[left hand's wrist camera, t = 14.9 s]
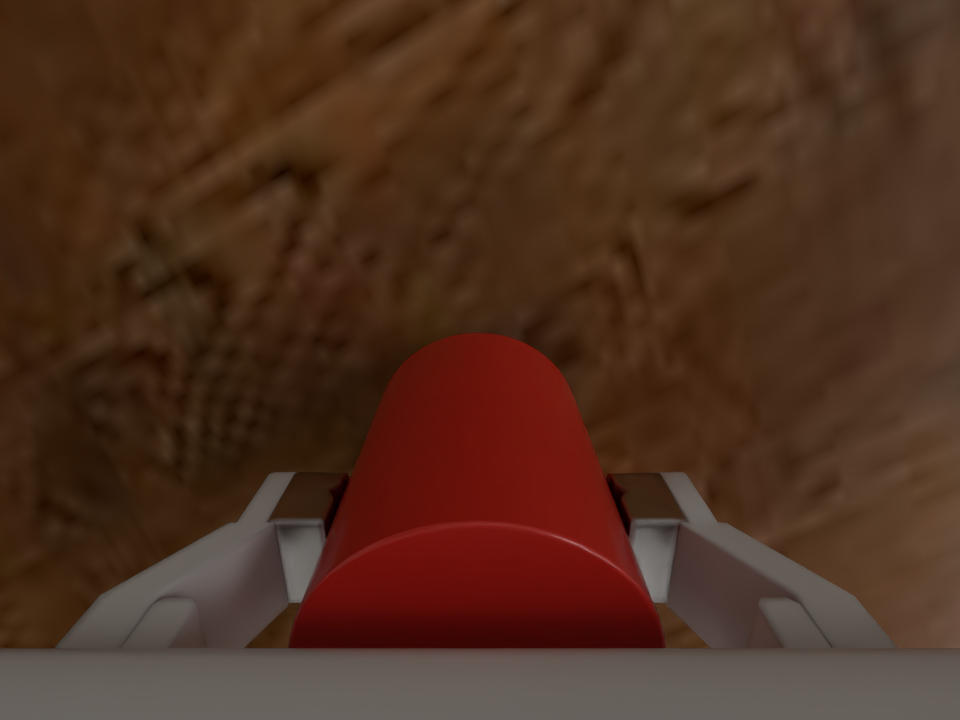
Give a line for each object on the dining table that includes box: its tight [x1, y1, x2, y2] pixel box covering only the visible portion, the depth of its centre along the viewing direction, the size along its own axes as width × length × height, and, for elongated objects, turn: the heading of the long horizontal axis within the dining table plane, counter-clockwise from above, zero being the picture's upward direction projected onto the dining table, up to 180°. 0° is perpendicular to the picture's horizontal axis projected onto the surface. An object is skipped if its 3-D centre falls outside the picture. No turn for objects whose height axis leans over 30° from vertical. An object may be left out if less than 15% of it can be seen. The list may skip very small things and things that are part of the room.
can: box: [289, 333, 666, 648], centre depth 11 cm, size 5×5×7 cm
